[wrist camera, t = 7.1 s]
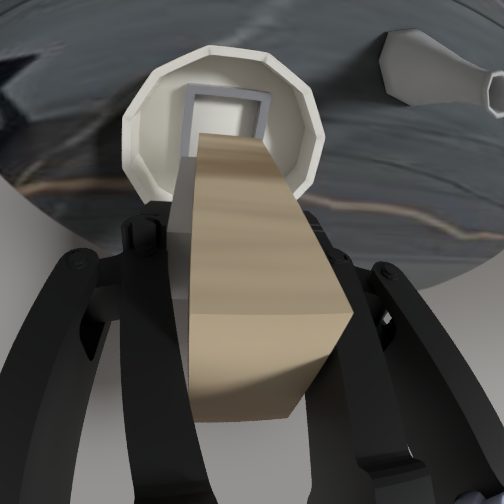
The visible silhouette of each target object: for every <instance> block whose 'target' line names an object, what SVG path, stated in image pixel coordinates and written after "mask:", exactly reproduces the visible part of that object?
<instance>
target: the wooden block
mask: <svg viewBox="0 0 504 504" xmlns="http://www.w3.org/2000/svg"><path fill="white" fill-rule="evenodd" d="M353 313H354V312H353V310H352V308H351V306H350V304H349V302H348V300H347V298H346V296H345V294H344V291H343V289H342V287H341V285H340V283H339V281H338V279H337V277H336V275H335V273H334V271H333V269H332V267H331V265H330V263H329V261H328V259H327V257H326V255H325V253H324V251H323V249H322V248H321V246H320V244H319V242H318V240H317V238H316V236H315V234H314V232H313V230H312V228H311V226H310V225H309V223H308V221H307V219H306V217H305V215H304V213H303V212H302V210H301V208H300V206H299V204H298V202H297V201H296V199H295V197H294V195H293V193H292V192H291V190H290V188H289V186H288V184H287V183H286V181H285V179H284V177H283V176H282V174H281V172H280V170H279V169H278V167H277V165H276V163H275V162H274V160H273V158H272V157H271V155H270V153H269V151H268V150H267V148H266V146H265V145H264V143H263V141H262V140H261V139H258V138H250V137H241V136H232V135H221V134H210V133H199V139H198V148H197V159H196V171H195V183H194V197H193V213H192V231H191V248H190V268H189V294H188V396H189V402H190V406H191V411H192V416H193V420H194V422H240V421H257V420H271V419H281V418H288V417H289V415H290V414H291V412H292V411H293V410H294V408H295V407H296V405H297V404H298V402H299V401H300V400H301V398H302V396H303V395H304V394H305V392H306V391H307V389H308V388H309V386H310V385H311V383H312V382H313V380H314V379H315V377H316V375H317V374H318V372H319V371H320V369H321V368H322V366H323V364H324V363H325V361H326V360H327V358H328V356H329V355H330V353H331V351H332V350H333V348H334V346H335V345H336V343H337V341H338V340H339V338H340V336H341V335H342V333H343V331H344V329H345V328H346V326H347V324H348V322H349V321H350V319H351V317H352V315H353Z"/></svg>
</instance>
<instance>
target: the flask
mask: <svg viewBox="0 0 504 504" xmlns="http://www.w3.org/2000/svg"><path fill="white" fill-rule="evenodd" d="M379 65H380V68H381V72H382V76H383V81H384V85H385V89H386V93H387V94H389V95H391V96H393V97H395V98H397V99H398V100H400V101H402V102H404V103H406V104H408V105H410V106H420V105H427V104H434V103H447V102H463V103H469V104H474V105H478V106H480V107H483V108H484V109H485V110H486V111H488V112H489V113H490V114H491V115H492V116H493V117H494V118H496V119H499V118H502V117H504V72H503V71H502V70H493V71H488V70H485V69H482V68H479V67H478V66H476V65H474V64H472V63H470V62H468V61H466V60H464V59H462V58H461V57H459V56H458V55H456V54H455V53H453V52H452V51H450V50H449V49H447V48H446V47H444V46H443V45H441V44H440V43H438V42H437V41H435V40H434V39H432V38H431V37H429V36H428V35H426V34H424V33H423V32H421V31H419V30H418V29H416V28H414V29H405V30H397V31H390V32H388V35H387V38H386V41H385V44H384V47H383V50H382V52H381V55H380V58H379Z"/></svg>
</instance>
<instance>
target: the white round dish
mask: <svg viewBox="0 0 504 504" xmlns="http://www.w3.org/2000/svg"><path fill="white" fill-rule="evenodd" d="M199 133H210V134H221V135H232V136H241V137H250V138H258V139H261V140H262V141H263V143H264V145H265V146H266V148H267V150H268V151H269V153H270V155H271V157H272V158H273V160H274V162H275V163H276V165H277V167H278V169H279V170H280V172H281V174H282V176H283V177H284V179H285V181H286V183H287V184H288V186H289V188H290V190H291V192H292V193H293V195H294V197H295V199H296V200H297V199H298V198H299V197H300V196H301V195H302V194H303V193H304V192H305V191H306V190H307V189H308V188H309V187H310V186H311V185H312V184H313V181H314V177H315V174H316V170H317V167H318V163H319V159H320V156H321V152H322V148H323V144H324V141H325V134H324V130H323V127H322V123H321V120H320V116H319V113H318V110H317V106H316V103H315V100H314V97H313V94H312V90H311V88H310V87H308V86H307V85H306V84H305V83H304V82H303V81H302V80H301V79H299V78H298V77H297V76H296V75H295V74H294V73H292V72H291V71H290V70H289V69H288V68H286V67H285V66H284V65H283V64H282V63H280V62H279V61H278V60H277V59H275V58H274V57H273V56H272V55H270V54H269V53H266V52H260V51H254V50H247V49H240V48H232V47H223V46H213V45H209V46H205V47H203V48H200V49H198V50H195V51H193V52H191V53H188V54H186V55H184V56H182V57H180V58H177V59H175V60H173V61H171V62H169V63H167V64H165V65H163V66H161V67H159V68H157V69H155V70H153V71H152V73H151V74H150V76H149V77H148V78H147V80H146V81H145V83H144V84H143V86H142V87H141V89H140V90H139V92H138V93H137V95H136V96H135V98H134V99H133V101H132V102H131V104H130V106H129V107H128V109H127V110H126V112H125V114H124V115H123V117H122V169H123V170H124V172H125V174H126V175H127V177H128V178H129V180H130V182H131V183H132V185H133V187H134V188H135V190H136V191H137V193H138V195H139V196H140V198H141V199H142V201H143V203H144V204H147V203H148V202H149V201H171V202H172V200H173V194H174V189H175V184H176V180H177V175H178V170H179V165H180V161H181V156H183V157H197V148H198V139H199Z"/></svg>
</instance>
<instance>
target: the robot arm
mask: <svg viewBox="0 0 504 504" xmlns="http://www.w3.org/2000/svg"><path fill="white" fill-rule="evenodd" d="M196 159H197V157H183V156H181V161H180V165H179V170H178V175H177V180H176V184H175V189H174V194H173V200H172V202H171V201H149V202H148V203H147V204H145V205H144V206H143V208H142V211H141V215H136V216H133V217H131V218H128V219H127V220H126V221H124V222H123V224H122V226H121V232H122V243H123V252H122V253H121V254H118V255H116V256H112V257H107V258H102V259H99V257H98V255H97V253H96V252H95V251H93V250H91V249H88V248H77V249H74V250H70V251H69V252H67V253H65V254H64V255H63V256H62V257H61V258H60V259H59V261H58V263H57V264H56V266H55V267H54V269H53V271H52V272H51V274H50V276H49V277H48V279H47V281H46V282H45V284H44V286H43V288H42V289H41V291H40V293H39V295H38V296H37V298H36V300H35V302H34V304H33V306H32V307H31V309H30V311H29V313H28V315H27V317H26V319H25V321H24V323H23V325H22V327H21V329H20V331H19V333H18V335H17V337H16V339H15V341H14V343H13V345H12V348H11V350H10V352H9V354H8V356H7V359H6V361H5V363H4V366H3V368H2V371H1V373H0V504H70V497H71V490H72V482H73V476H74V469H75V463H76V458H77V452H78V447H79V442H80V436H81V431H82V427H83V422H84V418H85V414H86V409H87V405H88V401H89V396H90V393H91V389H92V385H93V382H94V378H95V374H96V371H97V367H98V364H99V360H100V357H101V353H102V350H103V347H104V343H105V340H106V337H107V334H108V331H109V328H110V325H111V321H114V320H119V319H120V364H121V384H122V385H121V386H122V400H123V412H124V423H125V433H126V441H127V449H128V456H129V463H130V469H131V475H132V480H133V486H134V494H135V500H134V504H218V503H217V500H216V498H215V496H214V494H213V491H212V489H211V486H210V483H209V479H208V476H207V472H206V469H205V465H204V461H203V457H202V453H201V450H200V445H199V441H198V437H197V433H196V429H195V424H194V420H193V416H192V411H191V406H190V402H189V397H188V392H187V387H186V383H185V377H184V371H183V366H182V360H181V355H180V349H179V343H178V337H177V331H176V324H175V317H174V311H173V304H172V298H174V299H188V294H189V268H190V248H191V231H192V213H193V197H194V183H195V171H196ZM302 212H303V213H304V215H305V217H306V219H307V221H308V223H309V225H310V226H311V228H312V230H313V232H314V234H315V236H316V238H317V240H318V242H319V244H320V246H321V248H322V249H323V251H324V253H325V255H326V257H327V259H328V261H329V263H330V265H331V267H332V269H333V271H334V273H335V275H336V277H337V279H338V281H339V283H340V285H341V287H342V289H343V291H344V294H345V296H346V298H347V300H348V302H349V304H350V306H351V308H352V310H353V312H354V313H353V315H352V317H351V319H350V321H349V322H348V324H347V326H346V328H345V329H344V331H343V333H342V335H341V336H340V338H339V340H338V341H337V343H336V345H335V346H334V348H333V350H332V351H331V353H330V355H329V356H328V358H327V360H326V361H325V363H324V364H323V366H322V368H321V369H320V371H319V372H318V374H317V375H316V377H315V379H314V380H313V382H312V383H311V385H310V386H309V388H308V389H307V391H306V392H305V400H306V411H307V423H308V435H309V448H310V462H311V477H312V488H311V492H310V495H309V497H308V501H307V504H504V427H503V425H502V423H501V421H500V419H499V417H498V415H497V413H496V411H495V410H494V408H493V406H492V404H491V402H490V401H489V399H488V397H487V396H486V394H485V392H484V390H483V388H482V387H481V385H480V383H479V382H478V380H477V378H476V377H475V375H474V373H473V372H472V370H471V369H470V367H469V365H468V364H467V362H466V361H465V359H464V357H463V356H462V354H461V353H460V351H459V350H458V348H457V347H456V345H455V344H454V342H453V341H452V339H451V338H450V336H449V335H448V333H447V332H446V330H445V329H444V328H443V326H442V325H441V323H440V322H439V320H438V319H437V317H436V316H435V315H434V313H433V312H432V310H431V309H430V308H429V306H428V305H427V304H426V302H425V301H424V300H423V298H422V297H421V296H420V294H419V293H418V292H417V290H416V289H415V288H414V286H413V285H412V284H411V282H410V281H409V280H408V279H407V277H406V276H405V275H404V273H403V272H402V271H401V270H400V269H399V268H397V267H396V266H394V265H393V264H391V263H388V262H382V261H380V262H376V263H375V264H374V265H373V267H372V269H371V271H370V270H366V269H362V268H359V267H355V266H354V265H353V263H352V260H351V259H350V257H349V256H348V255H347V254H345V253H344V252H342V251H341V250H339V249H336V248H333V246H332V245H331V243H330V241H329V239H328V238H327V236H326V234H325V232H323V231H324V230H323V229H322V227H321V226H320V224H319V222H318V220H317V218H316V217H315V216H313V215H312V214H311V213H310V212H309V211H302ZM387 312H389V314H390V316H391V317H392V319H391V320H390V322H389V323H388V324H386V323H385V322H384V320H383V318H384V317H385V315H386V314H387ZM407 444H408V445H407ZM408 447H409V449H410V451H411V453H412V455H413V457H412V456H411V455H410V452H409V450H408Z"/></svg>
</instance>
